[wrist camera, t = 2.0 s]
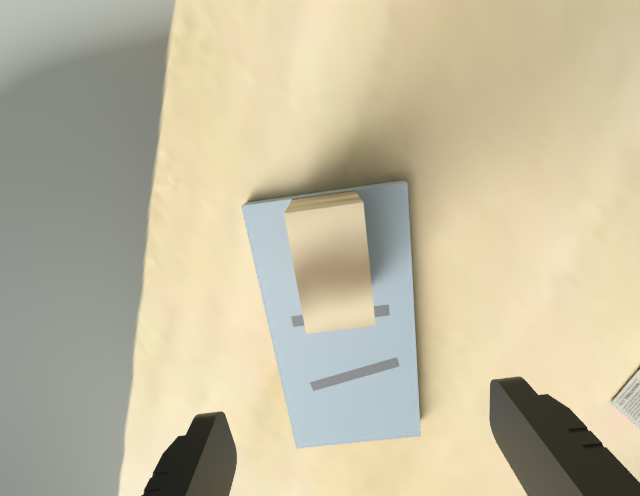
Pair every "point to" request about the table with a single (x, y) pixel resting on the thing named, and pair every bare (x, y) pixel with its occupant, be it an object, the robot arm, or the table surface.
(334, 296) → the block
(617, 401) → the ink cartridge box
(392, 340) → the board
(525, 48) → the table surface
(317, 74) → the table surface
